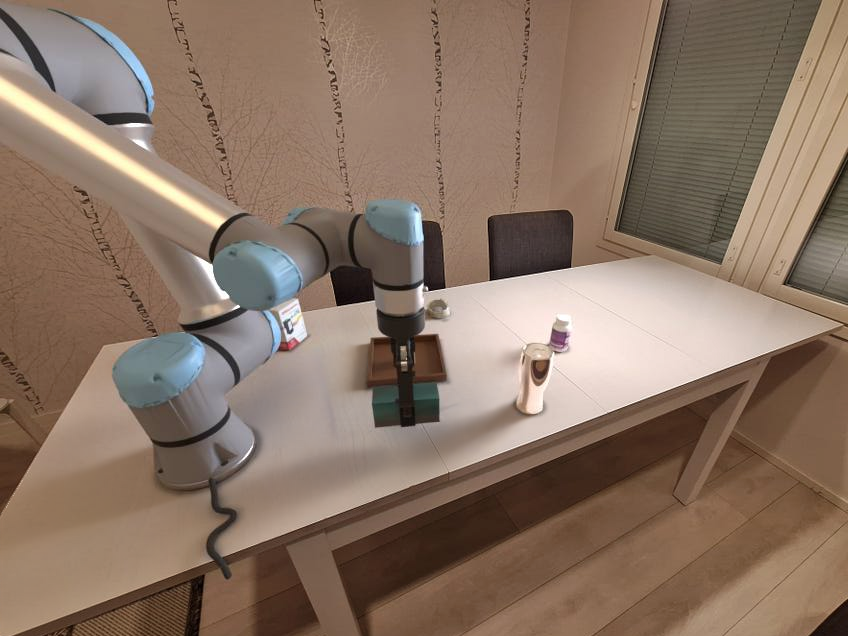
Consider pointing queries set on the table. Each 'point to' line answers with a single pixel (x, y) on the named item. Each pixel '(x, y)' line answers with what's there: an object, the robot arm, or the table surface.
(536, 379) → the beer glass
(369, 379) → the tray
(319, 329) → the table surface
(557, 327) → the pill bottle
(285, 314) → the ink box
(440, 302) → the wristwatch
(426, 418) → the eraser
